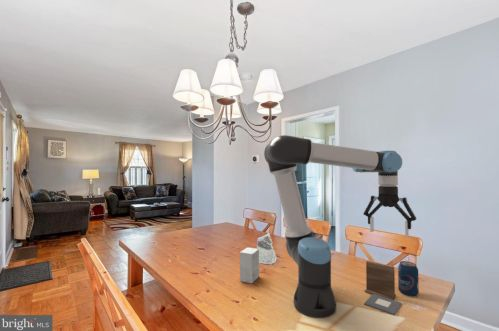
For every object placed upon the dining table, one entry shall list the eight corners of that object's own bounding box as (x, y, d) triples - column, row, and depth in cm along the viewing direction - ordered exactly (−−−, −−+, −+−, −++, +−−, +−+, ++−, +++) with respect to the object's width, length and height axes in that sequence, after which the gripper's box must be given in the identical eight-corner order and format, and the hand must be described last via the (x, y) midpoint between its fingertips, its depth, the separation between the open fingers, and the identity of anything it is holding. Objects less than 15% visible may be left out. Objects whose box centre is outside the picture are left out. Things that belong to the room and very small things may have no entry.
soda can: (396, 293, 100) (395, 263, 100) (401, 287, 105) (400, 259, 105) (416, 299, 95) (416, 268, 95) (420, 293, 100) (420, 263, 100)
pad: (394, 315, 84) (394, 313, 84) (364, 304, 91) (364, 302, 91) (401, 304, 91) (401, 302, 91) (372, 295, 98) (372, 293, 98)
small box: (246, 274, 118) (247, 247, 118) (259, 276, 115) (259, 248, 116) (239, 281, 110) (239, 251, 111) (252, 283, 108) (252, 253, 108)
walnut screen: (392, 301, 93) (392, 269, 94) (365, 292, 100) (364, 262, 101) (395, 296, 97) (395, 265, 97) (369, 288, 104) (368, 259, 104)
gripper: (423, 186, 103) (424, 237, 102) (361, 184, 119) (361, 228, 119) (421, 187, 97) (422, 240, 97) (355, 185, 114) (356, 231, 113)
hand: (388, 234), depth 108 cm, fingers open, 13 cm apart
